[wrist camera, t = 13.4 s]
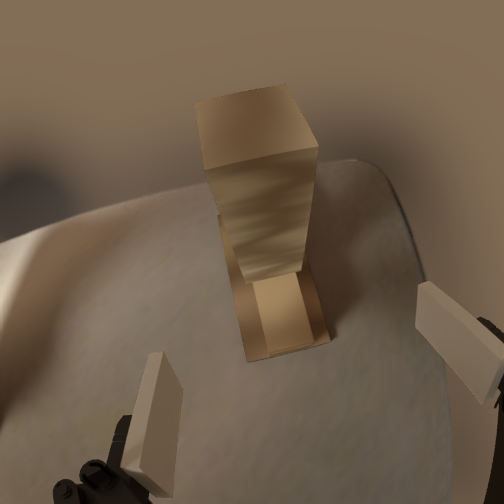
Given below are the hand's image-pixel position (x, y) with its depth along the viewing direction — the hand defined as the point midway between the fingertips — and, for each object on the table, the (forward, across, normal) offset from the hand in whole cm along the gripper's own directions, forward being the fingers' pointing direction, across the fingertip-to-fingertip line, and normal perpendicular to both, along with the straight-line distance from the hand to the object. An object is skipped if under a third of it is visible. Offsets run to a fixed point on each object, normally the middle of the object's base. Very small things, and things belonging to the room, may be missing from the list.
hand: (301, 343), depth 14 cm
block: (+12, 0, 0) cm, 12 cm away
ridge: (+16, 0, -4) cm, 17 cm away
